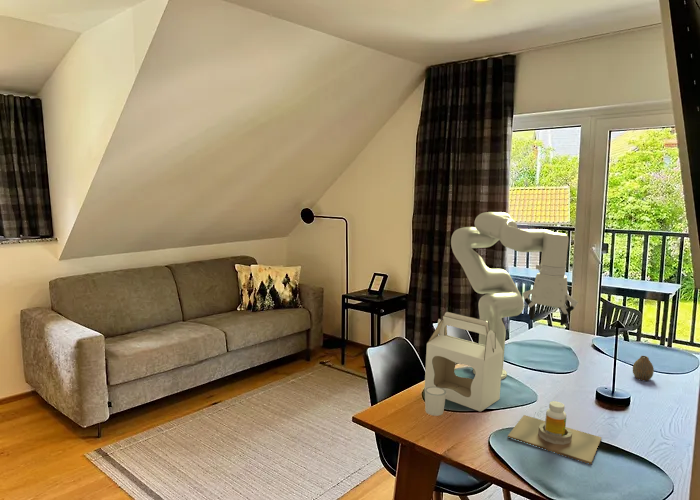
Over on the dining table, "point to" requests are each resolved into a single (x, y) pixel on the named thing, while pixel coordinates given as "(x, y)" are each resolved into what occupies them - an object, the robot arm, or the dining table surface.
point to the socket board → (569, 450)
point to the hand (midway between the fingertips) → (547, 321)
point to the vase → (643, 368)
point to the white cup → (435, 400)
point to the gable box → (464, 362)
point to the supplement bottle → (555, 419)
